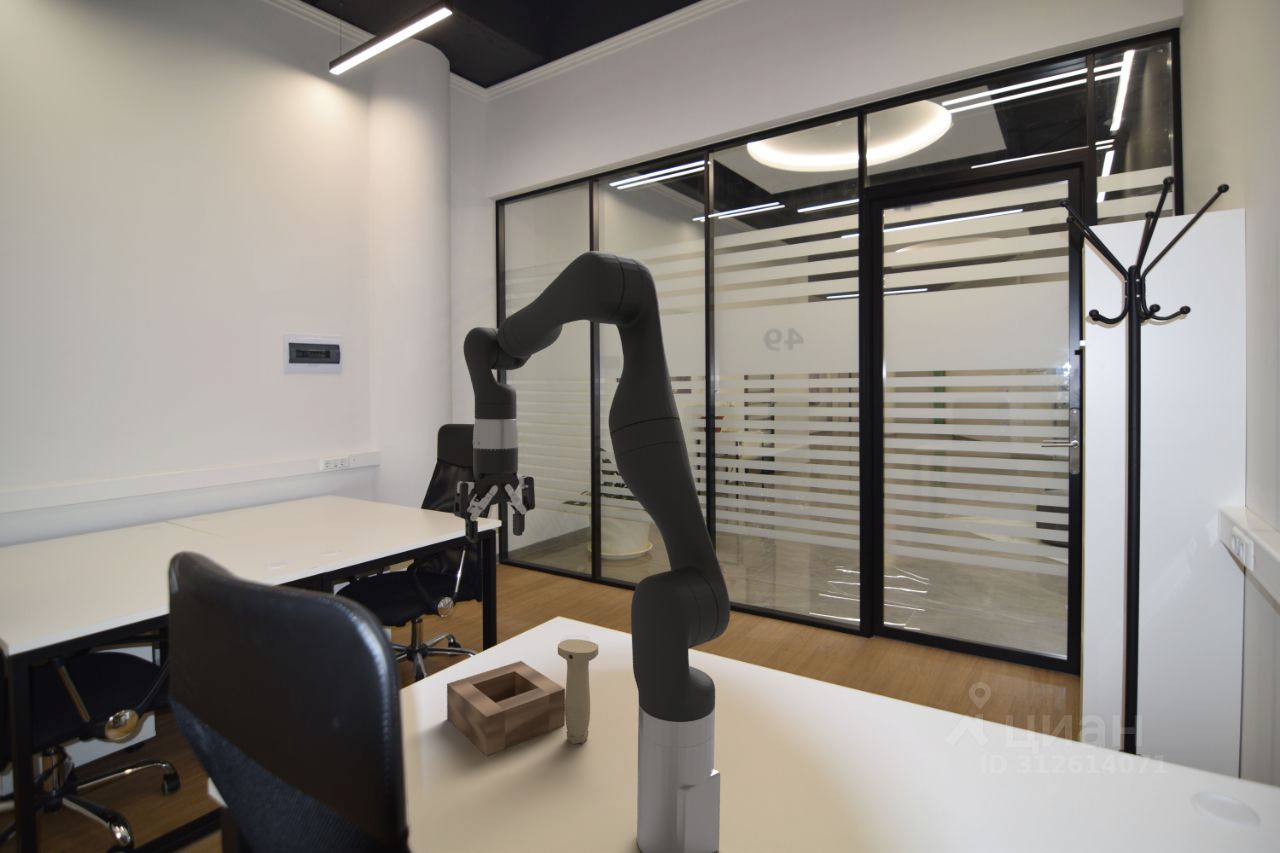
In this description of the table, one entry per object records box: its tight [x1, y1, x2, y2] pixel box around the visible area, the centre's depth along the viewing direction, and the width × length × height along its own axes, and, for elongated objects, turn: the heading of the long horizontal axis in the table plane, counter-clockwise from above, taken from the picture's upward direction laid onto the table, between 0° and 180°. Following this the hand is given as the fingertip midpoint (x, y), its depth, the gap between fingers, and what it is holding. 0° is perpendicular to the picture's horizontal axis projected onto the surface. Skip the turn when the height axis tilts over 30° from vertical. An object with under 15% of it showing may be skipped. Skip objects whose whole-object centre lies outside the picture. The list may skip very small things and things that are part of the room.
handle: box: [557, 638, 599, 745], centre depth 98 cm, size 5×6×15 cm
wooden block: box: [446, 660, 566, 757], centre depth 103 cm, size 14×14×6 cm
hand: (496, 538), depth 108 cm, fingers open, 8 cm apart
